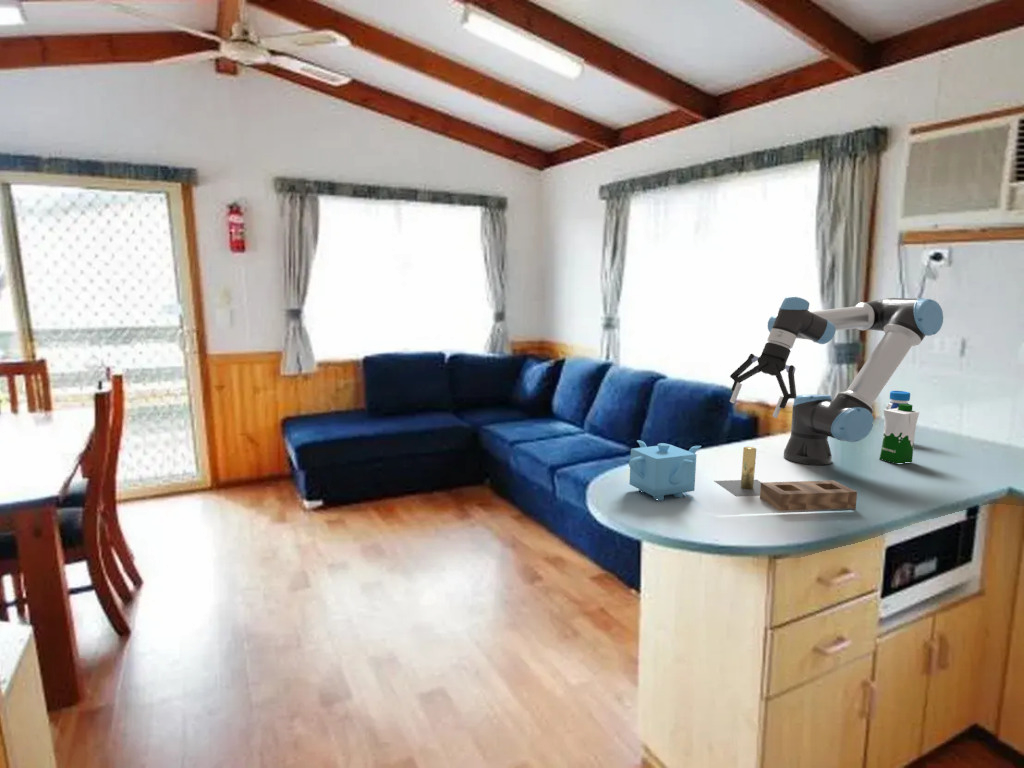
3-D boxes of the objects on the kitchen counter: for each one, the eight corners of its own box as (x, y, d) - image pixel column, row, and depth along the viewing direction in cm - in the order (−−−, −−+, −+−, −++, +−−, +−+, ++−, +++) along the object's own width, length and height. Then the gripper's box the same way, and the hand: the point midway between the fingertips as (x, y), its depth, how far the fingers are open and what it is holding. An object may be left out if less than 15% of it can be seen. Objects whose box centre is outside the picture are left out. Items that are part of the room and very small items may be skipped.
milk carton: (916, 463, 210) (923, 406, 207) (898, 465, 206) (905, 408, 203) (891, 456, 218) (898, 402, 215) (874, 459, 214) (880, 403, 211)
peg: (749, 485, 182) (752, 446, 180) (755, 489, 178) (758, 449, 177) (738, 485, 181) (741, 446, 180) (744, 489, 178) (747, 449, 176)
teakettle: (623, 499, 170) (625, 448, 168) (635, 480, 187) (637, 433, 185) (693, 508, 163) (696, 455, 161) (698, 487, 181) (701, 439, 178)
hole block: (831, 497, 174) (833, 480, 173) (855, 509, 164) (857, 491, 163) (759, 499, 171) (760, 482, 170) (779, 512, 161) (780, 494, 160)
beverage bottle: (886, 438, 246) (891, 389, 243) (910, 441, 240) (916, 392, 237) (879, 441, 240) (884, 391, 237) (903, 445, 234) (909, 394, 231)
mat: (756, 481, 188) (756, 479, 188) (782, 496, 174) (782, 494, 174) (713, 482, 186) (713, 480, 186) (736, 497, 172) (736, 496, 172)
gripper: (736, 332, 192) (711, 394, 193) (818, 354, 176) (790, 422, 177) (743, 338, 197) (719, 398, 198) (823, 359, 182) (796, 425, 183)
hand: (752, 409), depth 188 cm, fingers open, 13 cm apart
